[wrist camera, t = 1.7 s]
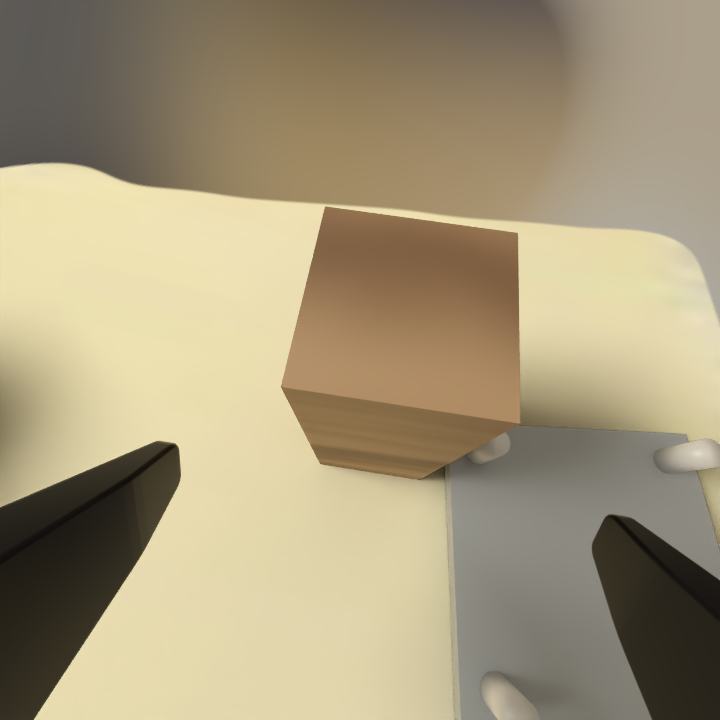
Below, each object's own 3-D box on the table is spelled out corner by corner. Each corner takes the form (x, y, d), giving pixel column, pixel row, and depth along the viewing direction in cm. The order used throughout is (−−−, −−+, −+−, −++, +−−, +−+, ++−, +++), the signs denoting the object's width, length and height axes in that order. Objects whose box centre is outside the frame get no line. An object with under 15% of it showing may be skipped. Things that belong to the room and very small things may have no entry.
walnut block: (419, 479, 19) (520, 423, 8) (320, 464, 19) (280, 386, 8) (427, 385, 21) (517, 233, 10) (337, 371, 21) (325, 206, 10)
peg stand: (751, 735, 15) (858, 792, 12) (455, 722, 15) (483, 776, 12) (670, 437, 20) (732, 422, 17) (443, 426, 20) (461, 408, 17)
